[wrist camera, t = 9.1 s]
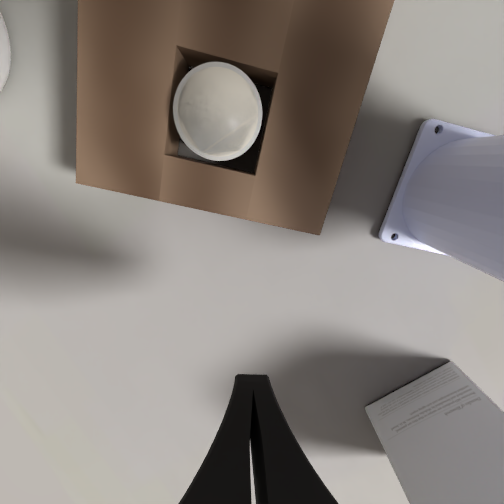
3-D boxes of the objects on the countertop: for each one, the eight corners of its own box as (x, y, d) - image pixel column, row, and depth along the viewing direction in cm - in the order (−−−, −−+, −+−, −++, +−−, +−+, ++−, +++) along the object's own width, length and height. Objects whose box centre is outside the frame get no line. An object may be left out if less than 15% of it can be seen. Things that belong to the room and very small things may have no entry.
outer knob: (266, 91, 16) (271, 75, 13) (250, 167, 17) (251, 169, 14) (192, 71, 15) (179, 50, 12) (181, 151, 17) (168, 149, 14)
